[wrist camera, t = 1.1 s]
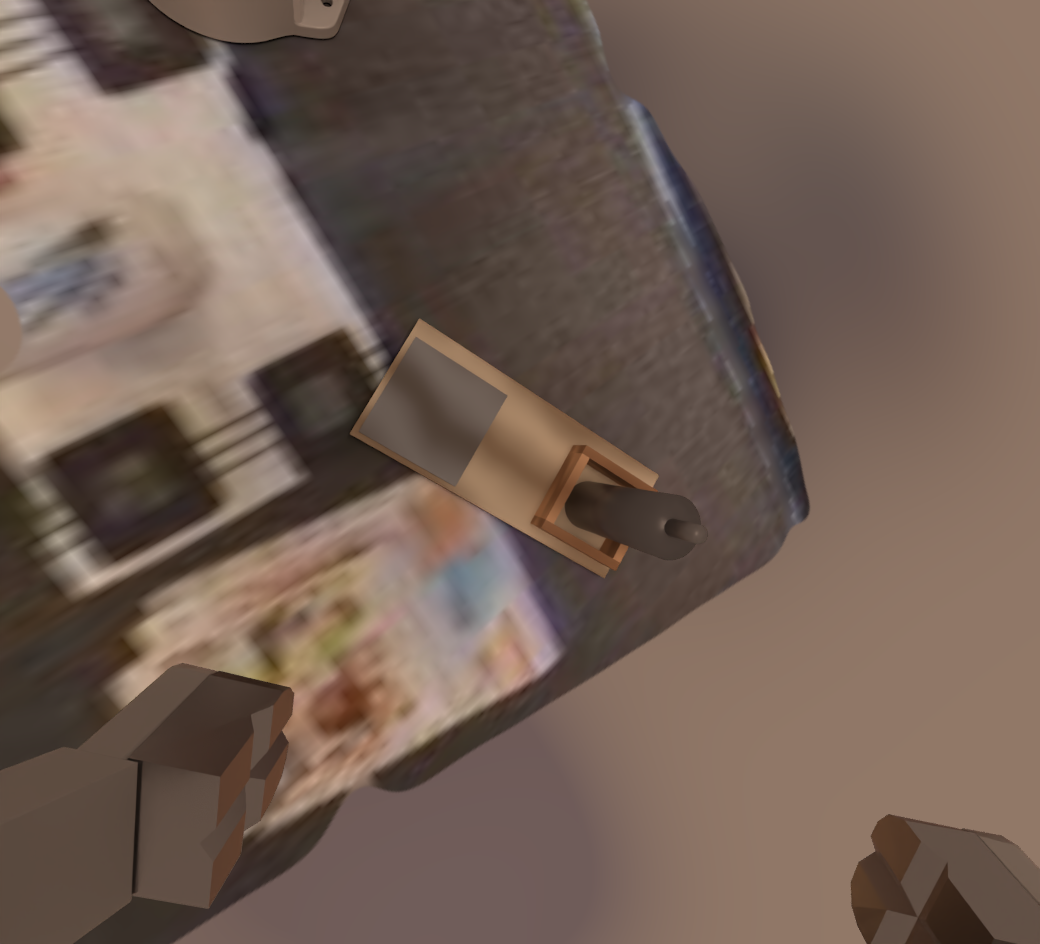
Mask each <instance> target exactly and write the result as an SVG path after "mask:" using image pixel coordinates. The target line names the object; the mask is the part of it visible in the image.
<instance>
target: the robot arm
mask: <svg viewBox="0 0 1040 944" xmlns="http://www.w3.org/2000/svg"><path fill="white" fill-rule="evenodd" d="M149 1H150V2H151V3H152V4H153V5H154V6H156V7H157V8H158V9H159V10H160V11H162V12H163V13H164V14H166V15H167V16H168V17H170V18H171V19H173V20H174V21H176V22H178V23H179V24H181V25H183V26H185V27H186V28H188V29H190V30H193V31H195V32H197V33H200V34H202V35H205V36H208V37H211V38H214V39H218V40H223V41H229V42H237V43H253V42H262V41H267V40H271V39H275V38H278V37H282V36H288V35H298V36H304V37H310V38H319V39H326V38H331V37H333V36H335V35H336V33H337V32H338V30H339V28H340V25H341V23H342V20H343V17H344V14H345V12H346V9H347V6H348V4H349V1H350V0H149ZM325 2H327V3H330V4H331V5H332V6H331V7H326V6H324V5H323V3H325ZM293 699H294V693H293V691H292V689H291V688H290V687H285V686H281V685H277V684H273V683H268V682H264V681H260V680H256V679H252V678H247V677H243V676H239V675H235V674H230V673H226V672H222V671H218V672H217V671H215V670H211V669H207V668H202V667H198V666H194V665H189V664H185V663H181V664H178V665H175V666H172V667H170V668H169V669H168V670H167V671H165V672H164V673H163V674H162V675H161V676H160V677H159V678H157V679H156V680H155V681H154V682H153V683H152V684H151V685H149V686H148V687H147V688H146V689H145V690H144V691H143V692H141V693H140V694H139V695H138V696H137V697H136V698H135V699H133V700H132V701H131V702H130V703H129V704H128V705H127V706H125V707H124V708H123V709H122V710H121V711H120V712H119V713H118V714H116V715H115V716H114V717H113V718H112V719H111V720H110V721H108V722H107V723H106V724H105V725H104V726H103V727H102V728H100V729H99V730H98V731H97V732H96V733H95V734H94V735H92V736H91V737H90V738H89V739H88V740H87V741H86V742H84V743H83V744H82V745H81V746H80V747H79V748H78V749H72V748H67V747H62V748H59V749H57V750H54V751H51V752H49V753H46V754H43V755H41V756H38V757H35V758H33V759H30V760H27V761H25V762H22V763H19V764H17V765H14V766H11V767H9V768H6V769H3V770H1V771H0V944H73V943H74V942H75V941H77V940H78V939H80V938H81V937H82V936H84V935H85V934H87V933H88V932H89V931H91V930H92V929H93V928H95V927H96V926H98V925H99V924H100V923H102V922H103V921H104V920H106V919H107V918H109V917H110V916H111V915H113V914H114V913H115V912H117V911H118V910H120V909H121V908H122V907H124V906H125V905H127V904H128V903H129V902H131V899H132V896H137V897H143V898H148V899H154V900H160V901H166V902H172V903H178V904H184V905H189V906H195V907H201V908H207V909H209V907H210V905H211V904H212V902H213V900H214V899H215V897H216V895H217V894H218V892H219V890H220V888H221V887H222V885H223V883H224V882H225V880H226V878H227V877H228V875H229V873H230V872H231V870H232V868H233V867H234V865H235V863H236V861H237V860H238V858H239V856H240V855H241V850H242V842H243V833H244V831H245V830H246V829H248V828H250V827H251V826H253V825H255V824H256V823H258V822H259V821H261V819H262V817H263V815H264V813H265V812H266V810H267V808H268V806H269V805H270V803H271V801H272V799H273V796H274V794H275V791H276V789H277V787H278V784H279V782H280V779H281V777H282V773H283V769H284V765H285V762H286V757H287V750H288V743H289V742H288V740H287V739H286V737H285V735H284V734H283V732H282V729H283V728H284V726H285V725H286V723H287V721H288V720H289V718H290V717H291V715H292V710H293ZM871 839H872V842H873V845H874V848H875V852H874V853H872V854H870V855H869V856H867V857H866V858H864V859H863V860H861V861H859V862H858V865H857V867H856V870H855V872H854V875H853V878H852V880H851V904H852V909H853V912H854V916H855V919H856V922H857V926H858V928H859V930H860V932H861V933H862V936H863V937H864V939H865V941H866V943H867V944H1040V869H1039V868H1038V867H1037V866H1036V865H1035V864H1034V862H1033V861H1032V860H1031V859H1030V858H1029V857H1028V856H1027V855H1026V854H1025V853H1024V852H1023V851H1022V850H1021V849H1020V848H1019V846H1017V845H1016V844H1014V843H1013V842H1011V841H1009V840H1008V839H1006V838H1005V837H1003V836H1001V835H996V834H990V833H985V832H979V831H974V830H969V829H957V828H953V827H949V826H944V825H938V824H934V823H929V822H924V821H919V820H914V819H910V818H905V817H900V816H895V815H890V814H888V815H886V816H885V817H884V818H882V819H881V820H879V821H878V822H877V824H876V826H875V828H874V830H873V832H872V834H871Z"/></svg>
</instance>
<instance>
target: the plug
mask: <svg viewBox="0 0 1040 944" xmlns="http://www.w3.org/2000/svg"><path fill="white" fill-rule="evenodd" d="M565 512H566V515H567V517H568V519H569V521H570V522H571V523H572V524H573V525H574V526H576V527H578V528H580V529H583V530H586V531H588V532H591V533H594V534H597V535H599V536H602V537H605V538H607V539H610V540H613V541H615V542H618V543H621V544H623V545H626V546H629V547H631V548H634V549H637V550H639V551H642V552H645V553H647V554H650V555H653V556H655V557H658V558H661V559H664V560H676V559H680V558H682V557H684V556H685V555H687V554H688V553H689V552H690V551H691V550H692V549H693V548H694V546H695V545H696V544H702V543H704V542H705V541H706V539H707V537H708V531H707V529H706V528H705V527H704V526H703V525H701V521H700V516H699V513H698V511H697V509H696V507H695V506H694V504H693V503H692V502H691V501H690V500H688V499H687V498H685V497H683V496H680V495H674V494H668V493H661V492H655V491H649V490H642V489H636V488H629V487H623V486H617V485H610V484H604V483H597V482H591V481H585V482H581V483H579V484H577V485H575V486H574V488H573V490H572V491H571V493H570V495H569V497H568V499H567V500H566V502H565Z"/></svg>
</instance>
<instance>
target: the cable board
mask: <svg viewBox="0 0 1040 944" xmlns="http://www.w3.org/2000/svg"><path fill="white" fill-rule="evenodd" d="M350 435H352V436H354V437H356V438H357V439H359V440H361V441H363V442H364V443H366V444H368V445H370V446H372V447H373V448H375V449H377V450H379V451H380V452H382V453H384V454H386V455H387V456H389V457H391V458H393V459H394V460H396V461H398V462H400V463H402V464H403V465H405V466H407V467H409V468H410V469H412V470H414V471H416V472H417V473H419V474H421V475H423V476H424V477H426V478H428V479H430V480H432V481H433V482H435V483H437V484H439V485H440V486H442V487H444V488H446V489H447V490H449V491H451V492H453V493H454V494H456V495H458V496H460V497H462V498H463V499H465V500H467V501H469V502H470V503H472V504H474V505H476V506H477V507H479V508H481V509H483V510H484V511H486V512H488V513H490V514H492V515H493V516H495V517H497V518H499V519H500V520H502V521H504V522H506V523H507V524H509V525H511V526H513V527H514V528H516V529H518V530H520V531H522V532H523V533H525V534H527V535H529V536H530V537H532V538H534V539H536V540H537V541H539V542H541V543H543V544H544V545H546V546H548V547H550V548H552V549H553V550H555V551H557V552H559V553H560V554H562V555H564V556H566V557H567V558H569V559H571V560H573V561H574V562H576V563H578V564H580V565H582V566H583V567H585V568H587V569H589V570H590V571H592V572H594V573H596V574H597V575H599V576H601V577H603V578H605V576H606V574H607V572H608V570H609V569H610V568H611V569H613V570H615V571H616V570H617V568H618V566H619V564H620V562H621V560H622V558H623V556H624V554H625V553H626V551H627V549H628V547H629V546H626V545H623V544H621V543H618V542H615V541H613V540H610V539H607V538H605V537H602V536H599V535H597V534H594V533H591V532H588V531H586V530H583V529H580V528H578V527H576V526H574V525H573V524H572V523H571V522H570V521H569V519H568V517H567V515H566V512H565V502H566V500H567V499H568V497H569V495H570V493H571V491H572V490H573V488H574V486H575V485H577V484H579V483H581V482H585V481H591V482H597V483H604V484H610V485H617V486H623V487H629V488H636V489H642V490H649V491H655V492H658V491H657V490H656V489H654V488H652V487H653V486H654V484H655V482H656V480H657V478H658V476H659V475H658V474H656V473H655V472H653V471H651V470H650V469H648V468H647V467H645V466H644V465H642V464H641V463H639V462H638V461H636V460H635V459H633V458H632V457H630V456H629V455H627V454H626V453H624V452H622V451H621V450H619V449H618V448H616V447H615V446H613V445H612V444H610V443H609V442H607V441H606V440H604V439H603V438H601V437H600V436H598V435H597V434H595V433H593V432H592V431H590V430H589V429H587V428H586V427H584V426H583V425H581V424H580V423H578V422H577V421H575V420H574V419H572V418H571V417H569V416H568V415H566V414H565V413H563V412H561V411H560V410H558V409H557V408H555V407H554V406H552V405H551V404H549V403H548V402H546V401H545V400H543V399H542V398H540V397H539V396H537V395H536V394H534V393H532V392H531V391H529V390H528V389H526V388H525V387H523V386H522V385H520V384H519V383H517V382H516V381H514V380H513V379H511V378H510V377H508V376H507V375H505V374H503V373H502V372H500V371H499V370H497V369H496V368H494V367H493V366H491V365H490V364H488V363H487V362H485V361H484V360H482V359H481V358H479V357H478V356H476V355H474V354H473V353H471V352H470V351H468V350H467V349H465V348H464V347H462V346H461V345H459V344H458V343H456V342H455V341H453V340H452V339H450V338H449V337H447V336H445V335H444V334H442V333H441V332H439V331H438V330H436V329H435V328H433V327H432V326H430V325H429V324H427V323H426V322H424V321H423V320H421V319H420V318H419V320H418V322H417V323H416V325H415V327H414V328H413V330H412V332H411V333H410V335H409V336H408V338H407V340H406V341H405V343H404V345H403V346H402V348H401V350H400V351H399V353H398V355H397V356H396V358H395V360H394V361H393V363H392V365H391V366H390V368H389V370H388V371H387V373H386V374H385V376H384V378H383V379H382V381H381V383H380V384H379V386H378V388H377V389H376V391H375V393H374V394H373V396H372V398H371V399H370V401H369V403H368V404H367V406H366V408H365V409H364V411H363V412H362V414H361V416H360V417H359V419H358V421H357V422H356V424H355V426H354V427H353V429H352V431H351V432H350Z"/></svg>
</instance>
